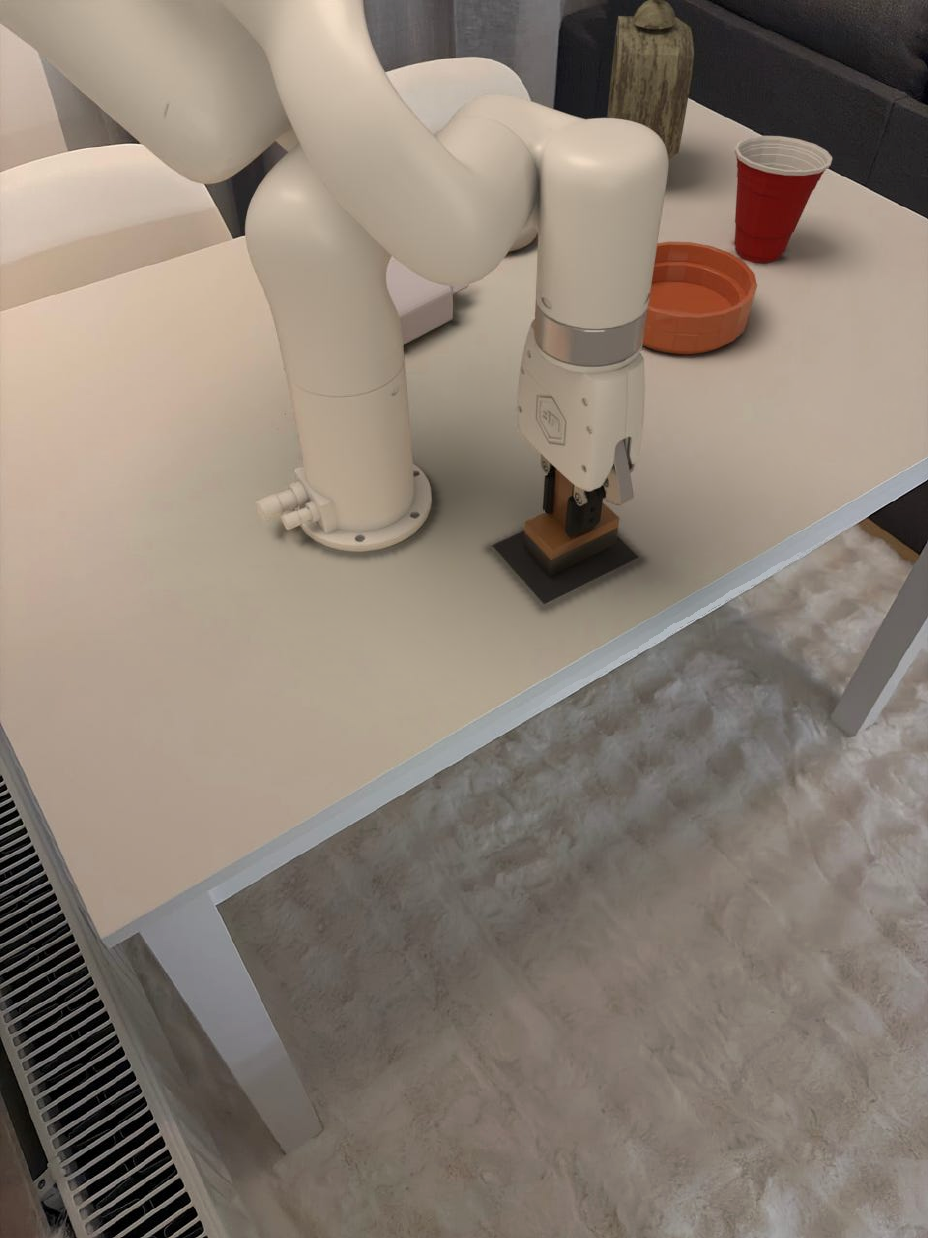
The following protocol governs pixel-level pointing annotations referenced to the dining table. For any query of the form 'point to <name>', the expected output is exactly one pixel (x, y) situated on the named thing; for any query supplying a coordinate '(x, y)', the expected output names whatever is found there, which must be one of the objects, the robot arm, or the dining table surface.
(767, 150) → the plastic cup
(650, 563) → the dining table surface
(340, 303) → the robot arm
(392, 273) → the charger
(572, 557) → the brush
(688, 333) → the bowl
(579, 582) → the mat
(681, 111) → the tabletop clock
